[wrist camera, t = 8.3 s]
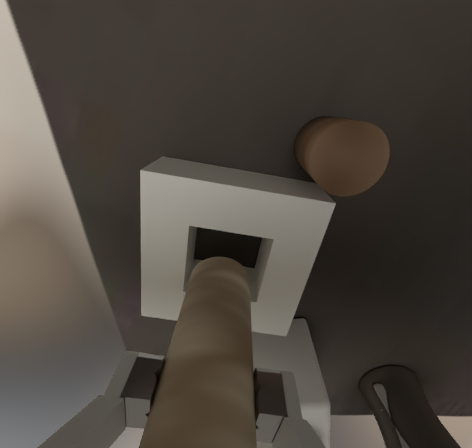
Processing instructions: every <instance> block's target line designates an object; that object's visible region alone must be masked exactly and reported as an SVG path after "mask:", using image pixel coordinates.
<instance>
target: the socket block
mask: <svg viewBox="0 0 472 448" xmlns="http://www.w3.org/2000/svg"><path fill="white" fill-rule="evenodd" d="M140 188H141V316H148V317H155V318H162V319H168V320H175V321H177V320H178V317H179V313H180V310H181V307H182V303H183V300H184V297H185V294H186V290H187V287H188V284H189V280H190V277H191V274H192V271H193V269H194V268H195V266H196V265H197V264H198V263H200V262H201V261H203V260H197V259H194V253H195V244H196V234H197V227H200V228H207V229H213V230H219V231H225V232H231V233H237V234H244V235H250V236H256V237H262V240H261V244H260V248H259V252H258V256H257V260H256V264H255V268H249V267H244V268H245V269H246V271H247V273H248V275H249V279H250V302H251V325H252V332H258V333H265V334H272V335H279V336H287V333H288V331H289V328H290V325H291V323H292V320H293V317H294V315H295V312H296V309H297V307H298V304H299V301H300V299H301V296H302V293H303V291H304V288H305V285H306V282H307V280H308V277H309V274H310V272H311V269H312V266H313V264H314V261H315V258H316V256H317V253H318V250H319V248H320V245H321V242H322V240H323V237H324V234H325V232H326V229H327V226H328V224H329V221H330V218H331V216H332V213H333V210H334V208H335V205H336V203H335V202H334V201H333V200H332V199H331V198H330V197H329V195H328V194H327V193H326V192H325V191H324V190H323V189H322V188H321V187H320V186H319V185H318V184H317V183H313V182H308V181H302V180H296V179H291V178H285V177H279V176H273V175H268V174H262V173H256V172H250V171H245V170H239V169H233V168H227V167H222V166H216V165H210V164H204V163H199V162H193V161H187V160H181V159H176V158H170V157H164V156H162V157H161V158H159V159H157V160H156V161H154V162H153V163H151V164H149V165H148V166H146V167H145V168H143V169H141V170H140Z"/></svg>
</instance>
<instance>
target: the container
mask: <svg viewBox="0 0 472 448" xmlns="http://www.w3.org/2000/svg"><path fill="white" fill-rule="evenodd" d="M252 349H253V372H254V369H255V368H264V369H274V370H279V371H288V372H292V373H293V374H294V377H295V382H296V387H297V392H298V397H299V402H300V408H301V413H302V418H303V419H304V420H307V421H308V423H309V424H310V426H311V427H312V428H313V430H314V431H315V433H316V434H317V436H318V437H319V438H320V440H321V441H322V443H323V444H324V446H325V447H326V448H330V402H329V398H328V395H327V391H326V388H325V384H324V381H323V377H322V374H321V370H320V367H319V363H318V360H317V356H316V353H315V349H314V346H313V342H312V339H311V335H310V332H309V328H308V325H307V322H306V320H305V319H303V318H300V319H293V320H292V323H291V325H290V328H289V331H288V333H287V336H279V335H272V334H265V333H258V332H252ZM256 442H257V448H273V447H272V444H271V443H264V442H258V441H256Z"/></svg>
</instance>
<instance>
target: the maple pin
mask: <svg viewBox="0 0 472 448" xmlns="http://www.w3.org/2000/svg"><path fill="white" fill-rule="evenodd" d="M139 448H257V442H256V419H255V395H254V372H253V349H252V325H251V302H250V279H249V275H248V273H247V271H246V269H245V268H244V267H243V266H242V265H241V264H240V263H238V262H237V261H235V260H233V259H230V258H226V257H211V258H208V259H205V260H203V261H201V262H200V263H198V264H197V265H196V266H195V268H194V269H193V271H192V274H191V277H190V280H189V284H188V287H187V290H186V294H185V297H184V300H183V303H182V307H181V310H180V313H179V317H178V320H177V323H176V327H175V330H174V333H173V336H172V340H171V343H170V346H169V350H168V353H167V356H166V360H165V363H164V367H163V370H162V373H161V377H160V379H159V383H158V386H157V389H156V393H155V396H154V400H153V403H152V406H151V410H150V412H149V416H148V419H147V422H146V426H145V429H144V432H143V436H142V439H141V442H140V446H139Z"/></svg>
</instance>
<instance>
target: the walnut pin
mask: <svg viewBox="0 0 472 448" xmlns="http://www.w3.org/2000/svg"><path fill="white" fill-rule="evenodd" d="M294 154H295V157H296V160H297V162H298V163H299V164H300V166H301V167H302V168H303V169H304V170H305V171H306V172H307V173H308V174H309V175H310V176H311V177H312V178H313V179H314V181H315V182H316V183H317V184H318V185H319V186H320V187H321V188H322V189H323V190H324V191H326V192H328V193H329V194H332V195H335V196H341V197H347V196H353V195H357V194H359V193H362V192H364V191H366V190H367V189H369V188H370V187H371V186H373V185H374V184H375V183H376V182H377V181H378V180H379V179H380V177H381V176H382V174H383V173H384V171H385V169H386V167H387V164H388V161H389V156H390V147H389V142H388V139H387V137H386V135H385V134H384V132H383V131H382V130H381V129H380V128H379V127H377V126H376V125H374V124H372V123H369V122H365V121H358V120H351V119H343V118H336V117H328V116H323V117H318V118H315V119H313V120H311V121H309V122H308V123H306V124H305V125H304V126H303V127H302V128H301V130H300V131H299V133H298V134H297V137H296V139H295V143H294Z"/></svg>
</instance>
